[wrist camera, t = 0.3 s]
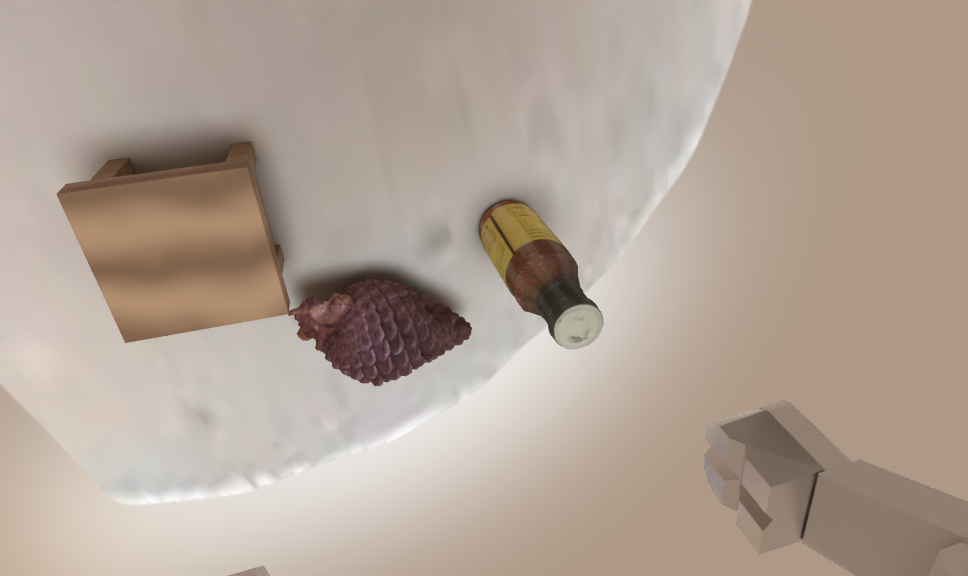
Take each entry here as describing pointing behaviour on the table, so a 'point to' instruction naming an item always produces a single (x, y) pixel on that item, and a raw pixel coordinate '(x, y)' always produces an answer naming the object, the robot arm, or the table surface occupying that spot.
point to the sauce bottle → (540, 273)
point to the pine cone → (379, 330)
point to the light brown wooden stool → (179, 245)
